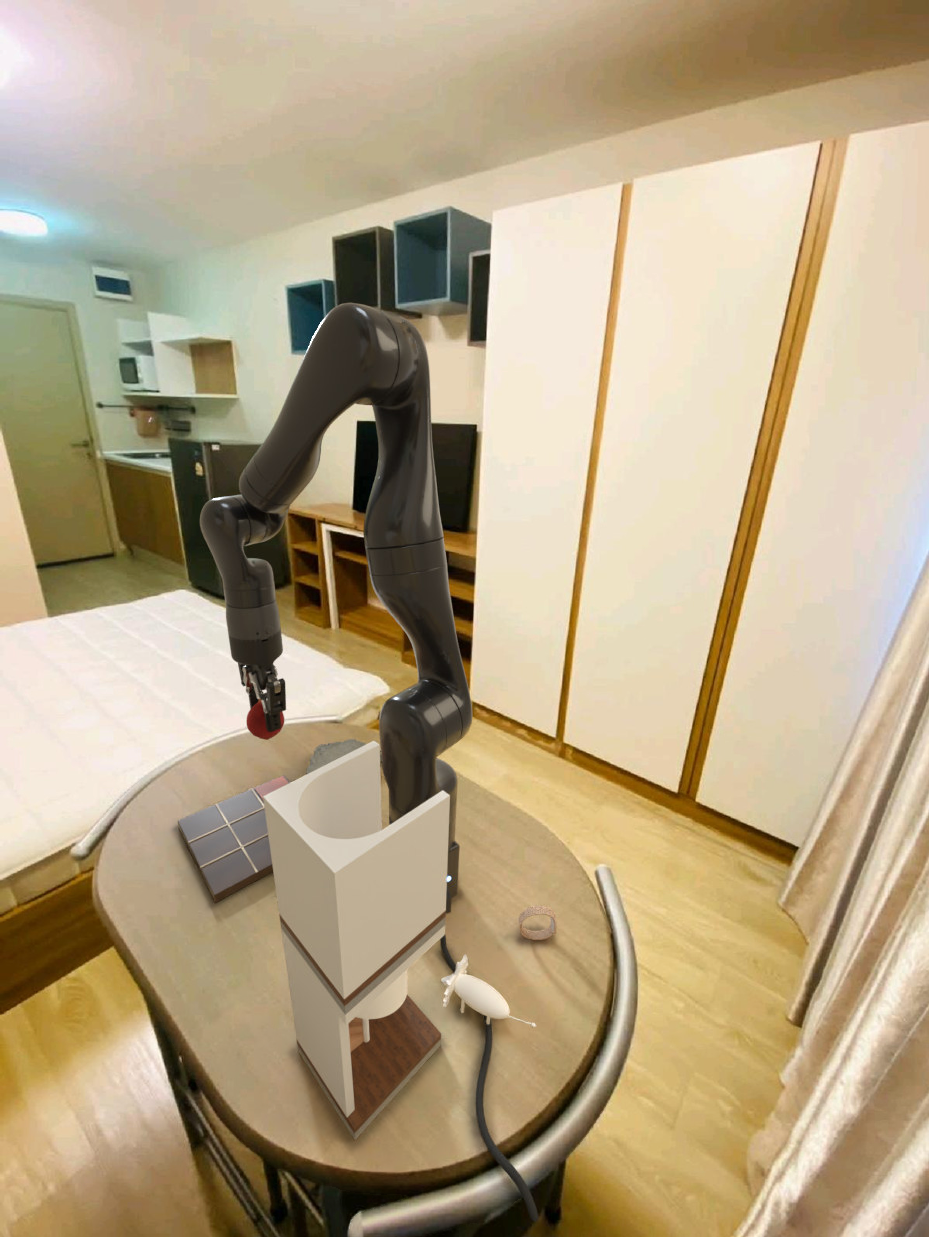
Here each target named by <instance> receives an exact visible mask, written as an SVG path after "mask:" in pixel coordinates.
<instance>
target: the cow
mask: <svg viewBox="0 0 929 1237" xmlns="http://www.w3.org/2000/svg"><path fill="white" fill-rule="evenodd" d="M468 961H469V958H468V955H467V954H466V953H464V954H463V956H462V959H461V961H457V963H456V970H455V973H454V972H453V973H451V974H449V975H446V976H444V977H443V978H441V980H440V983H441V984H442V985H444V986H445V987H446V989H445V991H444V993H443V995H444V998H443V1000H442V1002H444V1003H443V1004H442V1006H443V1007H445V1008H446V1007H447V1006H448V1004H449V1003H450V1000H451V996H452V994H453V993H454V992H455V993H456V995H457V997H458V998H460V999H461V1002H460V1009H459V1011H460V1013H461V1014H464V1013H465V1004H466V1005H467V1006H468V1007H470V1008H471V1009H473V1010H474V1011H476V1012H477V1013H479V1014H481V1015H482V1014H483V1015H485V1016H487V1020H486V1024H487V1025H489V1024H490V1019H496V1020H504V1019H506V1018H508V1019H511V1020H514V1021H518V1022H519V1023H523V1024H526V1025H529V1026H531V1028H536V1027H537V1024H536V1023H535V1022H529V1021H527V1020H523V1019H521V1018H517V1017H515V1016H512V1015H510V1013H511V1012H510V1011H511V1010H510V1006H509V1004H508V1002H507V1001H506V999H505V998H504V997H503V995H502V993H500V992H499V991H498V990H496V989H495V988H494V987H493V985H490V984H489V983H487V982H486V981H485V980H482V979H480V978H479V977H476V976H474V975H472V974H471V975H470V974H467V973H468V970H467V968H468V966H469V965H470V964H469V962H468ZM483 1015H482V1016H483Z"/></svg>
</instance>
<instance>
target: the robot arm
mask: <svg viewBox="0 0 929 1237" xmlns="http://www.w3.org/2000/svg"><path fill="white" fill-rule="evenodd" d="M431 397H432V396H431V373H430V361H429V355H428V350H427V346H426V342H425V340H424V338H423V336H422V333H421V332H420V331H419V329H418V328H417V326H416V325H415V324H414V323H413V322H411V321H410V320H409V319H407V318H405V317H404V316H402V315H399V314H395V313H393V312H390V311H386V310H384V309H383V310H382V309H380V308H376V307H373V306H370V305H366V304H362V303H355V302H345V303H341V304H339V305H337V306H335V307H333V308H332V309H331V310H329V311H328V312H327V314H326V315H325V316H324V317H323V319H322V320H321V322H320V324H319V325H318V327H317V329H316V331H315V332H314V334H313V336H312V338H311V341H310V342H309V345H308V347H307V349H306V352H305V354H304V356H303V359H302V362H301V363H300V366H299V368H298V370H297V373H296V374H295V377H294V379H293V382H292V384H291V386H290V388H289V390H288V393H287V395H286V398H285V400H284V403H283V404H282V408H281V409H280V412H279V414H278V416H277V418H276V420H275V422H274V424H273V426H272V428H271V429H270V431H269V433H268V435H267V436H266V438H265V439H264V441H263V442H262V443H261V445H260V446H259V447H258V449H257V450H256V452H255V453H254V455H253V456H252V457H251V459H250V460H249V462H247V465H246V466H245V467H244V469H243V471H242V472H241V474H240V476H239V479H238V480H239V481H238V490H239V493H240V494H236V495H229V496H221V497H215V498H212V499H209V500H208V501H207V502H205V504H204V505H203V507H202V509H201V511H200V515H199V527H200V531H201V534H202V536H203V538H204V540H205V543H206V544H207V547H208V548H209V549H208V550H209V551H210V553H211V556H212V557H213V560H214V562H215V564H216V567H217V569H218V571H219V574H220V576H221V580H222V587H223V594H224V602H225V621H226V622H225V623H226V627H227V636H228V642H229V649H230V656H231V659H232V660H233V661H234V662H236V663H237V666H238V672H239V677H240V683H241V685H242V687H245V693H246V694H247V696H248V701H249V710H250V709H251V708H252V707H253V706H254V705H255V704H256V703H258V702H259V700H261V702H262V705H263V710H264V715H265V723H266V730H267V731H268V732H273V731H276V730H278V729H280V728H281V719H280V712H281V711H282V712H284V711H286V710H287V693H286V690H287V689H286V680H285V679H284V678H283V677H281V678H279V679H278V671H277V670H278V669H277V667H276V665H275V664H274V663H275V662H276V660H277V659H278V658H280V657H281V656H282V655H283V651H284V646H283V637H282V636H283V635H282V627H281V618H280V617H281V616H280V610H279V606H278V601H277V594H276V586H275V577H274V570H273V567H272V565H271V564H270V563H269V561H267V560H265V559H261V558H257V557H255V558H253V557H247V556H246V554H245V550H244V547H247V546H251V545H255V544H260V543H263V542H266V541H270V540H271V539H272V538H274V537H275V536H276V535H277V534H278V533H280V532H281V530H282V529H283V526H284V524H285V521H286V518H287V517H288V513H289V511H290V507H291V504H293V503H294V502H295V501H296V499H297V498H298V497H299V496H300V495H301V494H302V492H303V491H304V490H305V489H306V488H307V487H308V485H309V484H310V483H311V481H312V480H313V478H314V477H315V475H316V473H317V470H318V468H319V465H320V461H321V454H322V444H323V440H324V437H325V434H326V432H327V431H328V429H329V428H330V427H331V425H332V424H333V423H334V422H335V421H336V420H337V419H338V418H339V417H340V416H341V415H342V414H344V413H345V412H346V411H347V410H349V409H350V408H351V407H353V406H354V405H363V406H371V408H372V411H373V416H374V420H375V428H376V435H377V443H378V461H377V466H376V467H377V468H376V473H375V477H374V481H373V483H372V488H371V491H370V495H369V498H368V502H367V506H366V509H365V516H364V521H363V532H362V533H363V543H364V544H363V545H364V547H365V548H364V549H365V555H366V561H367V567H368V573H369V577H370V582H371V583H370V584H371V586H372V589H373V591H374V593H375V595H376V597H377V598H378V600H379V601H380V603H381V604H382V605H383V607H384V608H385V609H386V610H387V612H388V613H389V615H390V616H391V617H392V618H393V619H394V620H395V622H396V623H397V624H398V625H399V626H400V627H401V629H402V630H403V631H404V632H405V634H406V635H407V637H408V639H409V641H410V643H411V646H412V650H413V654H414V657H415V663H416V669H417V682H416V683H414V684H412V685H411V686H409V687H407V688H405V689H403V690H402V691H400V692H398V693H396V694H393V695H392V696H390V697H389V698H387V699H386V700H385V701H384V703H383V704H382V706H381V709H380V712H379V719H378V731H379V733H378V734H379V744H380V750H381V756H382V761H381V766H382V773H383V776H384V780H385V783H386V786H387V788H388V826H389V825H391V824H392V823H394V822H395V821H397V820H398V819H400V818H401V817H403V816H404V815H406V814H407V813H409V812H410V811H412V810H413V809H415V808H416V807H418V806H419V805H421V804H423V803H424V802H426V801H427V800H429V799H430V798H432V797H433V796H435V795H436V794H438V793H439V792H441V791H442V790H443V791H445V792H446V793H447V794H449V795H450V808H449V836H448V863H447V890H446V915H447V914H451V913H452V899H453V898H454V897H457V895H458V889H459V868H460V866H459V865H460V850H461V848H460V844H459V843H458V842H456V824H457V823H456V822H457V804H458V786H459V785H458V783H459V781H458V776H457V772H456V771H455V769H454V767H452V765H451V764H449V763H448V762H446V761H445V760H443V759H441V758H438V757H439V756H441V755H442V754H443V753H444V752H446V751H447V750H449V749H450V748H452V747H453V746H454V745H456V744H457V743H458V742H460V741H461V740H463V739H464V738H465V736H466V735H467V734H468V733H469V731H470V729H471V727H472V724H473V705H472V698H471V693H470V690H469V684H468V679H467V676H466V672H465V667H464V664H463V659H462V655H461V651H460V646H459V642H458V641H459V640H458V637H457V630H456V622H455V618H454V616H455V615H454V610H453V603H452V597H451V591H450V584H449V583H450V582H449V572H448V562H447V561H448V560H447V554H446V546H445V545H446V544H445V538H444V530H443V524H442V518H441V513H440V505H439V504H440V503H439V496H438V486H437V476H436V467H435V459H434V449H433V431H432V430H433V429H432V401H431V400H432V398H431ZM264 691H266V692H264ZM439 941H440V949H441V952H442V955H443V958H444V960H445V961H446V963H447V965H448V966H449V968H450V970H451V971H452V972H453V974H454V973H455V970H456V965H457V963H455V961H454V959H453V958H452V956H451V954H450V951H449V950H448V944H447V935H446V934H445V935H444V936H443V937H442V938H441V939H440V940H439ZM481 1015H482V1017H483V1023H484V1031H485V1037H484V1038H485V1039H484V1048H483V1053H482V1058H481V1062H480V1067H479V1072H478V1076H477V1083H476V1089H475V1115H476V1121H477V1126H478V1130H479V1133H480V1136H481V1139H482V1141H483V1144H484V1145H485V1147H486V1148H487V1150H488V1152H489V1154H490V1155H491V1156H492V1157H493V1159H494V1160H495V1162H497V1164H498V1165H499V1166H500V1167H501V1168H502V1170H503V1171H504V1172H505V1173H506V1175H508V1177H509V1178H510V1179H511V1180H512V1182H513V1183H514V1184H515V1186H516V1188H517V1189H518V1191H519V1193H520V1195H521V1196H522V1198H523V1201H524V1203H525V1206H526V1209H527V1212H528V1215H529V1218H530V1219H531V1220H532V1222H535V1223H536V1222H538V1220H539V1213H538V1209H537V1206H536V1203H535V1200H534V1197H533V1195H532V1193H531V1191H530V1189H529V1186H528V1185H527V1182H525V1179H524V1178H523V1176H522V1175H521V1173H519V1171H518V1170H517V1168H515V1166H514V1165H513V1164H512V1163H511V1161H510V1160H509V1159H507V1157H506V1156H505V1155H504V1154H503V1152H502V1151H501V1150H500V1149H499V1148H498V1146H497V1145H496V1143H495V1142H494V1139H493V1138H492V1136H491V1134H490V1132H489V1129H488V1126H487V1122H486V1117H485V1110H484V1092H485V1084H486V1079H487V1073H488V1068H489V1064H490V1059H491V1055H492V1054H491V1053H492V1047H493V1024H492V1020H491V1019H492V1018H490V1024H489V1025H487V1024H486V1020H487V1016H485V1015H483V1014H481Z"/></svg>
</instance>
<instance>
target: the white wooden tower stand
mask: <svg viewBox="0 0 929 1237" xmlns="http://www.w3.org/2000/svg"><path fill="white" fill-rule="evenodd" d="M380 750H381V745H380V743H378V741H377V742H376V741H375V740H372V741H370V742H368V743H366V745H364V746H362V747H360V748H358V749H356V750H354V751H352V752H350V753H348V754H346V755H344V756H342V757H340V758H338V759H336V760H334V761H332V762H330V763H328V764H326V765H324V766H323V767H321V768H319V769H317V770H315V771H313V772H311V773H309V774H307V775H306V774H305V775H303V776H301V777H299V778H296V779H295V780H293V781H290V783H289V784H287V785H285V786H283V787H281V788H279V789H277V790H275V791H273V792H271V793H269V794H267V795H265V796H263V800H264V807H265V814H266V822H267V829H268V836H269V843H270V851H271V858H272V865H273V872H272V873H273V879H274V886H275V895H276V902H277V909H278V916H279V922H280V929H281V931H280V932H281V938H282V945H283V951H284V952H283V953H284V958H285V966H286V973H287V981H288V988H289V996H290V1002H291V1010H292V1011H291V1012H292V1019H293V1024H294V1031H295V1039H296V1047H297V1051H298V1053H299V1054H300V1056H301V1057H302V1059H303V1060H304V1063H305V1064H306V1065H307V1067H308V1069H309V1071H310V1072H311V1073H312V1075H313V1077H314V1078H315V1080H316V1081H317V1083H318V1084H319V1086H320V1088H321V1089H322V1091H323V1092H324V1094H325V1096H326V1097H327V1098H328V1100H329V1102H330V1104H331V1105H332V1107H333V1108H334V1109H335V1111H336V1113H337V1114H338V1116H339V1118H340V1120H341V1121H342V1122H343V1124H344V1126H345V1128H346V1129H347V1130H348V1132H349V1133H350V1135H351V1137H352V1138H353V1140H354V1141H357V1139H358V1138H359V1137H360V1135H362V1134H363V1132H364V1131H365V1130H366V1129H367V1128H368V1127H369V1126H370V1124H371V1123H372V1122H373V1121H374V1120H375V1119H376V1118H377V1117H378V1116H379V1115H380V1113H381V1112H382V1111H383V1110H384V1109H385V1108H386V1107H387V1106H388V1105H389V1103H391V1101H393V1100H394V1098H395V1097H396V1096H397V1095H398V1093H400V1091H401V1090H402V1089H403V1088H404V1087H405V1086H406V1084H407V1083H409V1081H410V1080H412V1078H413V1077H414V1075H416V1074H417V1072H418V1071H419V1070H420V1069H421V1068H422V1067H423V1066H424V1064H426V1062H427V1061H428V1060H429V1059H430V1058H431V1057H432V1055H434V1053H435V1052H436V1051H437V1050H438V1049H439V1048H440V1047H441V1046H442V1033H441V1032H440V1030H439V1029H438V1028H437V1027H436V1026H435V1024H434V1023H433V1022H432V1021H431V1020H430V1019H429V1017H427V1015H426V1014H425V1013H424V1012H423V1010H422V1009H421V1008H420V1007H419V1006H418V1005H417V1004H416V1002H414V1000H413V999H412V998H411V997H410V995H408V990H409V988H408V983H409V980H408V974H409V973H408V969H409V968H410V967H412V966H413V965H414V964H415V963H416V962H417V961H418V960H420V959H421V957H423V956H424V955H425V954H426V953H427V952H428V951H429V950H430V949H431V948H432V947H433V946H435V945H436V944H437V943H438V942H439V941H440V939H441V938H442V937H443V936H444V935H445V936H446V915H447V914H446V890H447V863H448V836H449V808H450V795H449V794H447V793H446V792H445V791H443V790H442V791H441V792H439V793H438V794H436V795H435V796H433V797H432V798H430V799H429V800H427V801H426V802H424V803H423V804H421V805H419V806H418V807H416V808H415V809H413V810H412V811H410V812H409V813H407V814H406V815H404V816H403V817H401V818H400V819H398V820H397V821H395V822H394V823H392V824H391V825H389V824H388V826H386V827H385V828H383V820H382V819H383V818H382V814H383V813H382V783H381V782H382V780H381V779H382V778H381V762H380Z"/></svg>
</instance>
